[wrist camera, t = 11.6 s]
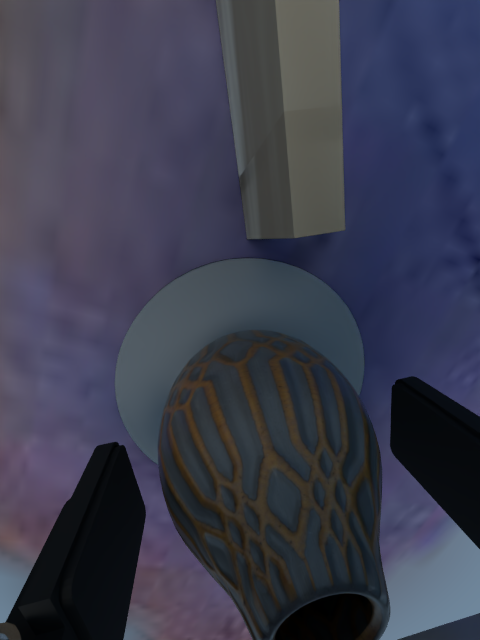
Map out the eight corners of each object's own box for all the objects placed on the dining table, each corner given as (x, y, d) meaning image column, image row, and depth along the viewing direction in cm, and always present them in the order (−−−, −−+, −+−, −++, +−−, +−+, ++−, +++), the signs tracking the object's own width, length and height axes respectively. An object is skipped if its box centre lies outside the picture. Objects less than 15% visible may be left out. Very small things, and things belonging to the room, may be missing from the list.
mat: (355, 238, 12) (363, 238, 12) (359, 449, 16) (365, 457, 15) (83, 282, 11) (77, 284, 11) (152, 500, 15) (151, 510, 14)
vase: (180, 300, 11) (132, 460, 3) (329, 322, 13) (577, 477, 4) (161, 439, 13) (99, 781, 5) (295, 446, 14) (427, 724, 6)
